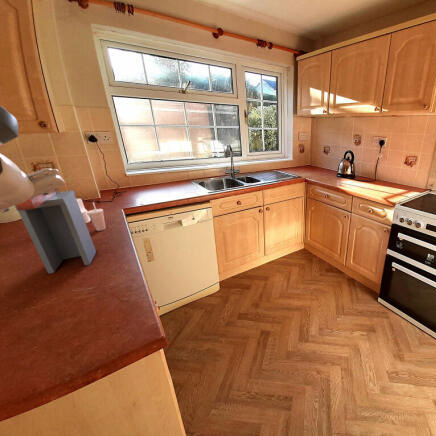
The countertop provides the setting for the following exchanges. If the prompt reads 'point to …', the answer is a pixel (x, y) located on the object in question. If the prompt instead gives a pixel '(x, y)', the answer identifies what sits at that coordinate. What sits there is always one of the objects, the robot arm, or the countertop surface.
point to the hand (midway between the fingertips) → (25, 200)
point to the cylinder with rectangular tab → (83, 211)
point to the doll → (35, 201)
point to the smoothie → (97, 218)
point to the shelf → (59, 230)
